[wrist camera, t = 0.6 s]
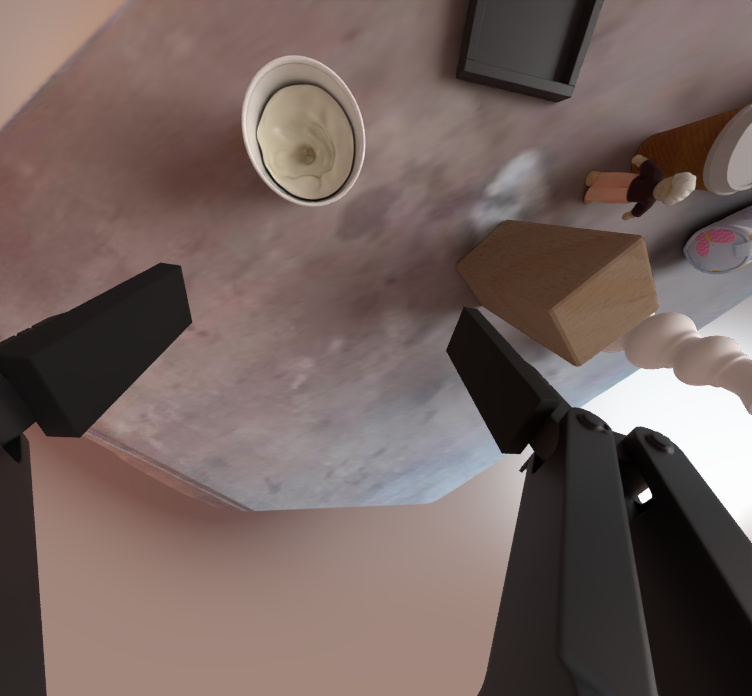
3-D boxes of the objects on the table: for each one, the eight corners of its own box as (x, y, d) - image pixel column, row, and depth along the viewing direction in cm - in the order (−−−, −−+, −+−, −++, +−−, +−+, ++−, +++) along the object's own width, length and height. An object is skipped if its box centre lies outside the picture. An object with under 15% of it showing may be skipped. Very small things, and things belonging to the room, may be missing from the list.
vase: (560, 329, 53) (725, 418, 32) (600, 279, 49) (820, 341, 28) (592, 346, 57) (757, 435, 36) (631, 301, 53) (844, 370, 32)
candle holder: (278, 208, 34) (263, 213, 24) (253, 106, 29) (220, 57, 19) (354, 199, 35) (371, 200, 25) (342, 100, 30) (357, 51, 20)
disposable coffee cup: (634, 122, 38) (754, 94, 27) (692, 115, 39) (829, 85, 28) (612, 200, 42) (707, 200, 32) (664, 191, 43) (772, 189, 33)
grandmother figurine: (579, 171, 39) (680, 161, 28) (603, 156, 39) (715, 141, 28) (581, 222, 43) (671, 230, 32) (604, 209, 43) (702, 214, 32)
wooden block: (453, 265, 42) (547, 311, 25) (505, 218, 40) (646, 233, 23) (482, 307, 47) (578, 369, 30) (530, 266, 45) (662, 309, 28)
